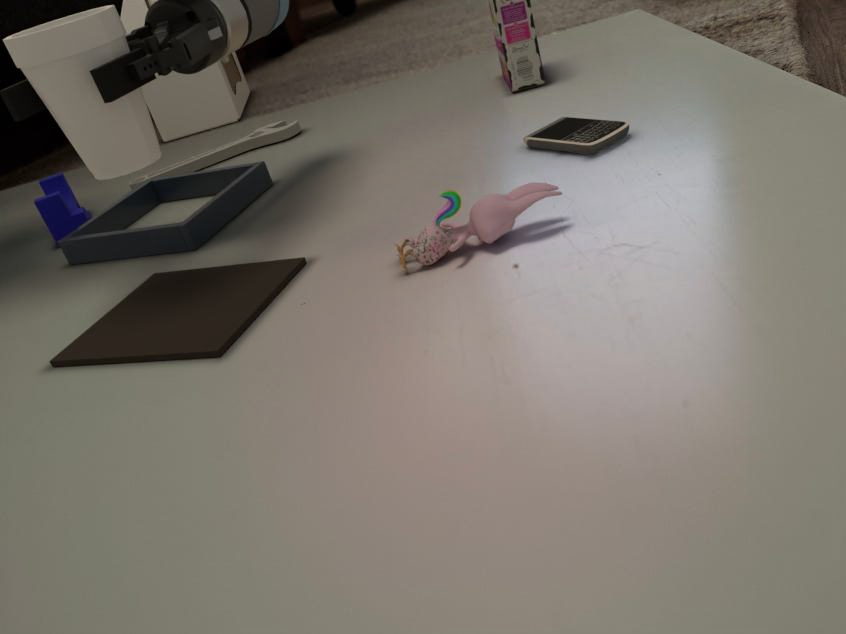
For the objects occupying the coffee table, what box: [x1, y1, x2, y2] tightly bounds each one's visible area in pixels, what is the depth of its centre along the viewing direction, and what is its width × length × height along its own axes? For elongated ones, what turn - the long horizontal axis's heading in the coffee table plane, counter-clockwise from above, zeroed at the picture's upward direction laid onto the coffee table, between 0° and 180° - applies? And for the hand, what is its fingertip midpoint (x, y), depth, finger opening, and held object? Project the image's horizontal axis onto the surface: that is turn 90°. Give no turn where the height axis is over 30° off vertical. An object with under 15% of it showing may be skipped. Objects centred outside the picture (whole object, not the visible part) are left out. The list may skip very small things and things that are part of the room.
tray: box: [58, 160, 274, 266], centre depth 100 cm, size 18×18×3 cm
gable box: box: [119, 0, 251, 143], centre depth 143 cm, size 22×13×28 cm, turn 9°
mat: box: [49, 256, 307, 368], centre depth 77 cm, size 18×16×1 cm
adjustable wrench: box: [128, 119, 302, 191], centre depth 122 cm, size 25×6×2 cm, turn 114°
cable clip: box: [33, 171, 94, 248], centre depth 108 cm, size 12×4×6 cm, turn 23°
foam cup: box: [2, 4, 163, 181], centre depth 75 cm, size 10×9×13 cm
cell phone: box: [522, 116, 630, 155], centre depth 90 cm, size 6×11×1 cm, turn 41°
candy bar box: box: [486, 0, 546, 93], centre depth 113 cm, size 11×5×16 cm, turn 6°
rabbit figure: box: [394, 181, 563, 274], centre depth 72 cm, size 6×6×15 cm
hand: (54, 96), depth 71 cm, fingers closed on foam cup, 9 cm apart
